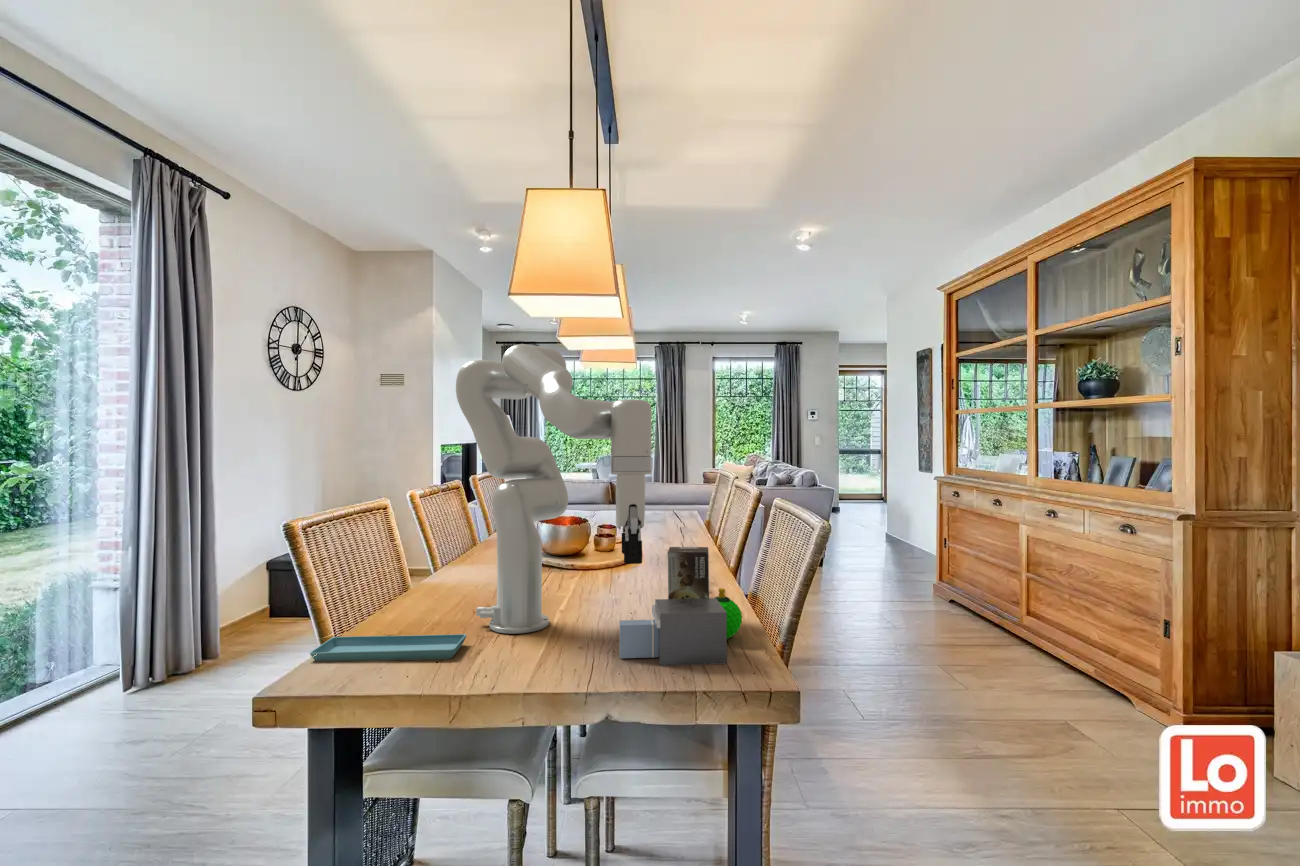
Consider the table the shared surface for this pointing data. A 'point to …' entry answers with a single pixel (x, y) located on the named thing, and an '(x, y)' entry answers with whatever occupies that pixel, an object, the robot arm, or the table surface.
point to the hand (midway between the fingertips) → (631, 558)
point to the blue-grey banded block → (639, 639)
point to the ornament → (730, 613)
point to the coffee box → (688, 572)
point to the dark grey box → (691, 631)
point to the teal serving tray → (389, 647)
